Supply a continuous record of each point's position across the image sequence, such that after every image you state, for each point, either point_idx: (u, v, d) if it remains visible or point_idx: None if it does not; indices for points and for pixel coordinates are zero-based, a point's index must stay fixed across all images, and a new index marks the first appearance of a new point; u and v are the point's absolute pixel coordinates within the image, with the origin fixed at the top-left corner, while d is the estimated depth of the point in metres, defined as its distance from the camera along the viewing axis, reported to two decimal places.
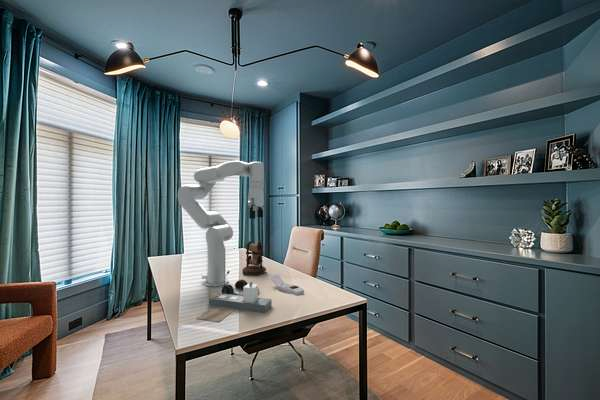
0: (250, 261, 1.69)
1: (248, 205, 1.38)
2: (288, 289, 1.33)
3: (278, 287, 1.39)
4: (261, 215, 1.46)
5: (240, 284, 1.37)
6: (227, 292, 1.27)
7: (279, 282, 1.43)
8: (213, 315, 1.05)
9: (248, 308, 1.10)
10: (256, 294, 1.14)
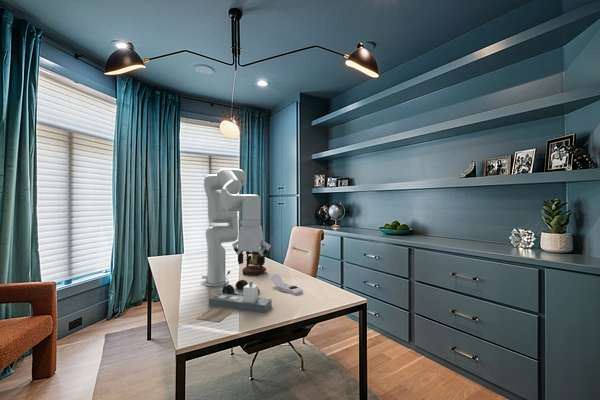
0: (250, 261, 1.69)
1: (259, 250, 1.10)
2: (287, 289, 1.32)
3: (277, 287, 1.39)
4: (242, 260, 1.16)
5: (241, 284, 1.37)
6: (228, 292, 1.27)
7: (279, 282, 1.43)
8: (213, 315, 1.05)
9: (248, 308, 1.10)
10: (256, 294, 1.14)
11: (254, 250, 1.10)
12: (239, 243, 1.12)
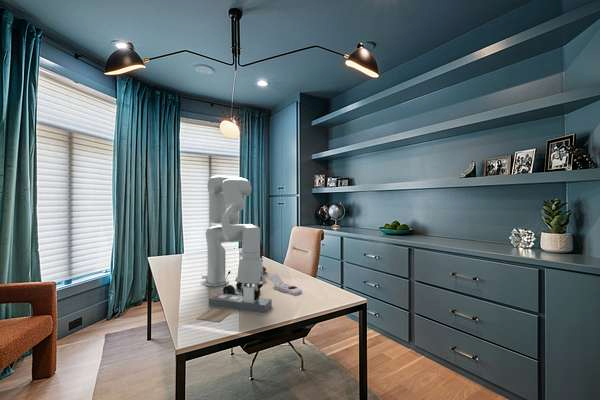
0: None
1: (259, 282, 1.10)
2: (286, 289, 1.32)
3: (277, 287, 1.39)
4: None
5: None
6: (228, 293, 1.26)
7: (278, 282, 1.43)
8: (213, 315, 1.05)
9: (248, 308, 1.10)
10: None
11: (254, 282, 1.10)
12: (239, 275, 1.12)
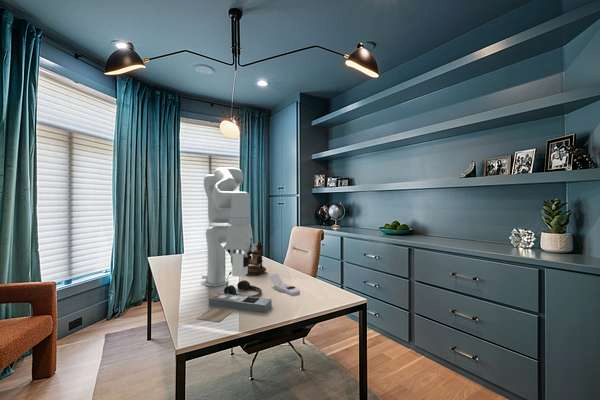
0: (250, 261, 1.69)
1: (248, 248, 1.08)
2: (284, 289, 1.32)
3: (276, 287, 1.39)
4: None
5: (242, 285, 1.36)
6: (230, 293, 1.26)
7: (278, 282, 1.43)
8: (213, 315, 1.05)
9: (248, 308, 1.10)
10: None
11: (243, 248, 1.08)
12: (227, 241, 1.10)
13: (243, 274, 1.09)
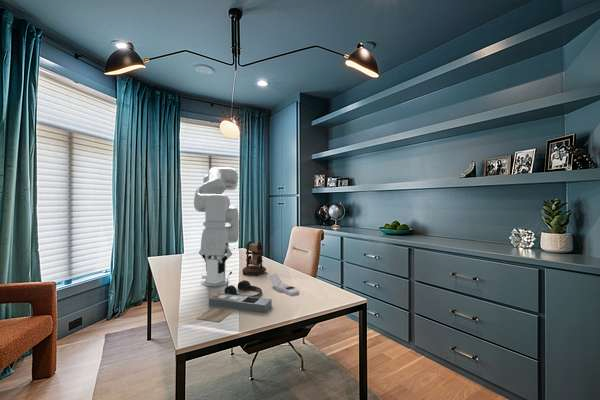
0: (250, 261, 1.69)
1: (223, 254, 1.02)
2: (284, 289, 1.32)
3: (275, 287, 1.39)
4: None
5: (243, 285, 1.36)
6: (230, 293, 1.26)
7: (277, 282, 1.43)
8: (213, 315, 1.05)
9: (248, 308, 1.10)
10: None
11: (217, 254, 1.02)
12: (202, 246, 1.04)
13: (218, 281, 1.04)
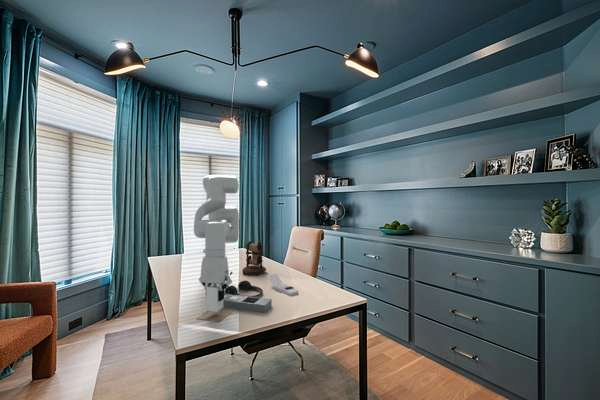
0: (250, 261, 1.69)
1: (222, 282, 1.02)
2: (283, 290, 1.32)
3: (274, 287, 1.39)
4: None
5: (243, 285, 1.36)
6: (231, 293, 1.25)
7: (277, 282, 1.43)
8: (213, 315, 1.05)
9: (248, 308, 1.10)
10: None
11: (217, 282, 1.02)
12: (202, 274, 1.04)
13: (218, 309, 1.04)
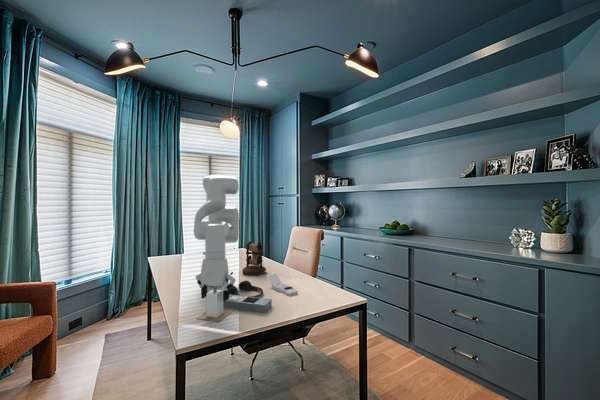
0: (250, 261, 1.69)
1: (222, 284, 1.02)
2: (282, 290, 1.32)
3: (274, 287, 1.38)
4: (206, 294, 1.08)
5: (244, 285, 1.36)
6: (231, 293, 1.25)
7: (276, 282, 1.43)
8: None
9: (248, 308, 1.10)
10: (221, 300, 1.06)
11: (217, 284, 1.02)
12: (202, 276, 1.04)
13: (218, 315, 1.04)
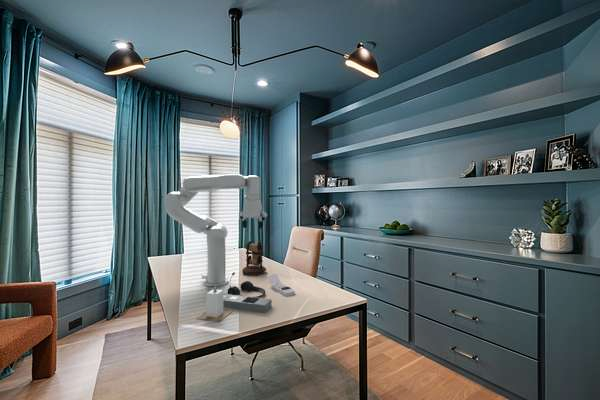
0: (250, 261, 1.69)
1: (259, 216, 1.48)
2: (279, 290, 1.32)
3: (272, 287, 1.39)
4: (246, 225, 1.54)
5: (246, 286, 1.35)
6: (233, 294, 1.24)
7: (275, 282, 1.43)
8: None
9: (248, 308, 1.10)
10: (221, 300, 1.06)
11: (255, 217, 1.48)
12: (244, 212, 1.50)
13: (218, 315, 1.04)
